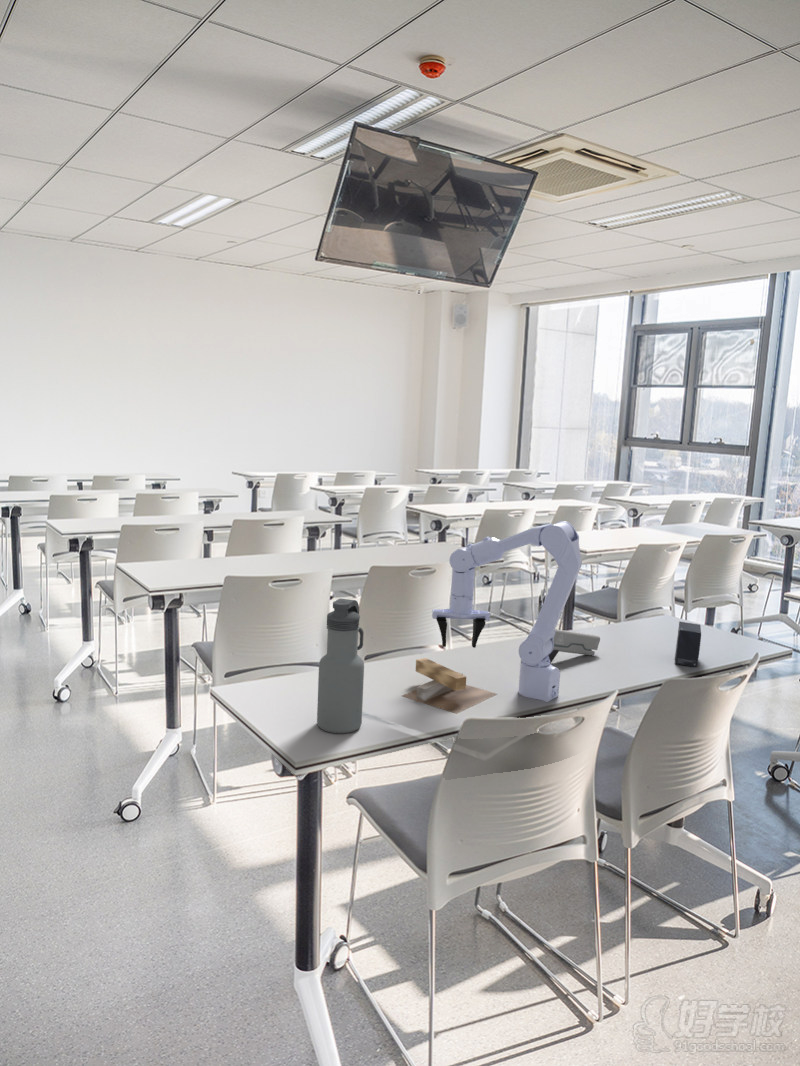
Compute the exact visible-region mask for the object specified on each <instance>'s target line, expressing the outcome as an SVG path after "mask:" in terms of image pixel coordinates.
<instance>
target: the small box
mask: <svg viewBox="0 0 800 1066" xmlns="http://www.w3.org/2000/svg"><path fill="white" fill-rule="evenodd" d="M701 639H702V629H701V624H698V623H691V622H685V621H679V622H678V630H677V637H676V645H675V653H674V664H675V663H676V664H675V665H679V664H680V665H681V666H686V665H687V666H686V667H694V668H697V667H698V663H699V659H700V657H699V656H700V650H701V641H702V640H701Z"/></svg>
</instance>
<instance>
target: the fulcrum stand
mask: <svg viewBox="0 0 800 1066" xmlns="http://www.w3.org/2000/svg"><path fill="white" fill-rule="evenodd" d="M456 672H457V673H460V674H462V675H464V674H463V673H461V672H460V671H459V672H458V671H456ZM497 695H498V693H495V692H492V691H489V690H485V689H481V688H480V687H479V688H478V687H475V686H472V685H469V684H466V689H462V690H457V691H455V690H453V689H451V688H449V687H447V686H445V685H443V684H441V683H439V682H437V681H435V680H433V679H431V680H430V681H428V682H426V683H422V684H420V685H418V686H417V687H416V689H414V690H412V691H409V692H406V693H404V694H403V695H401V697H403V698H407V699H409V700H412V701H416V702H418V703H419V702H420V703H423V704H425V705H428V706H432V707H435V708H437V709H442V710H444V711H447V712H450V713H454V714H459V713H461V712H463V711H465V710H467V709H469V708H471V707H474V706H476V705H478V704H480V703H482V702H485V701H486V700H488V699H490V698H492V697H494V696H497Z"/></svg>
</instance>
